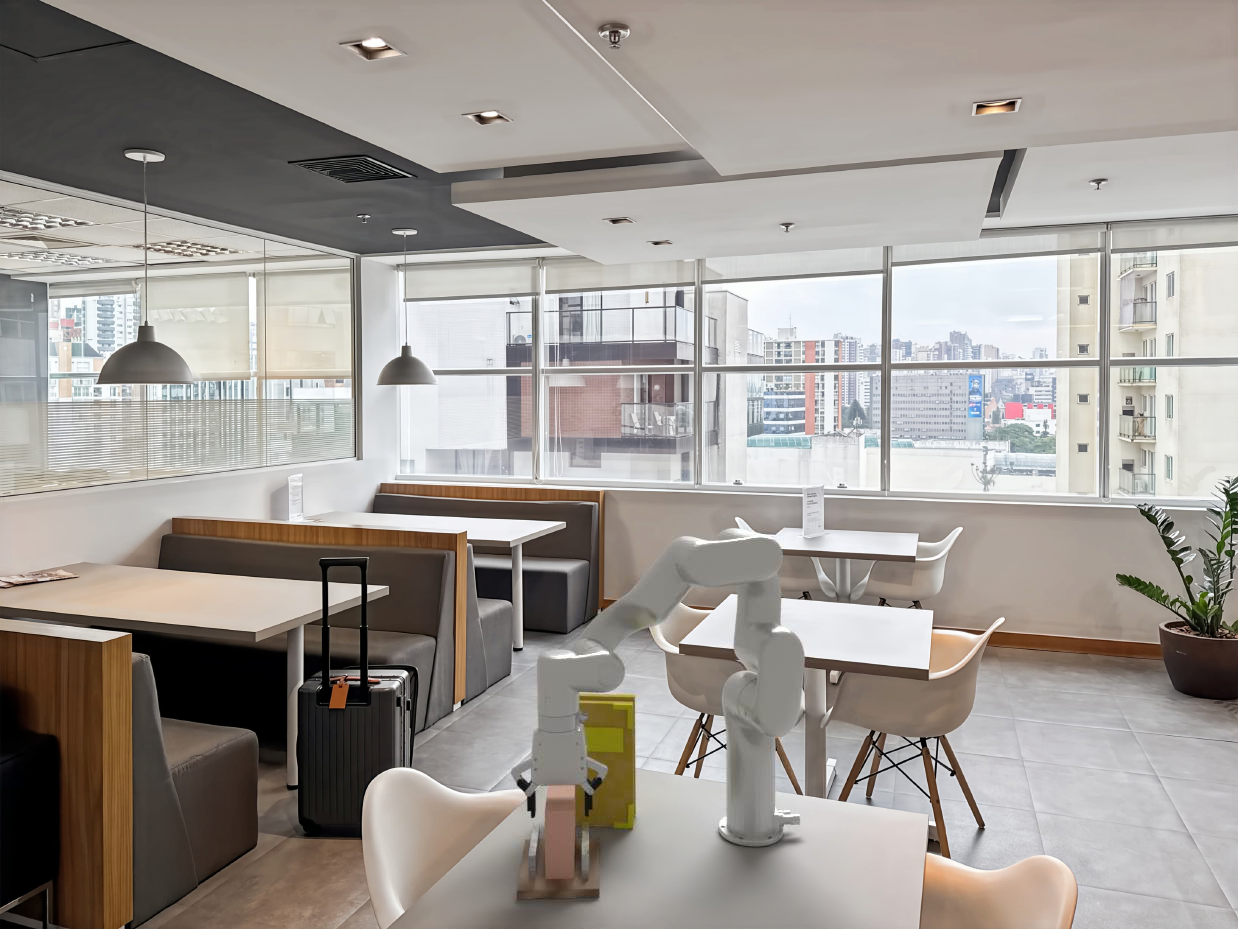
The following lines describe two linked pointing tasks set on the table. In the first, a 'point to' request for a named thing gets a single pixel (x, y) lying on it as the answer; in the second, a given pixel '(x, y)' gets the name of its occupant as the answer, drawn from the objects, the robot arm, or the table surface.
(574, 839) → the small book
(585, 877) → the bookends
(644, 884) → the table surface
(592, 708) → the book
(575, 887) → the shelf board
